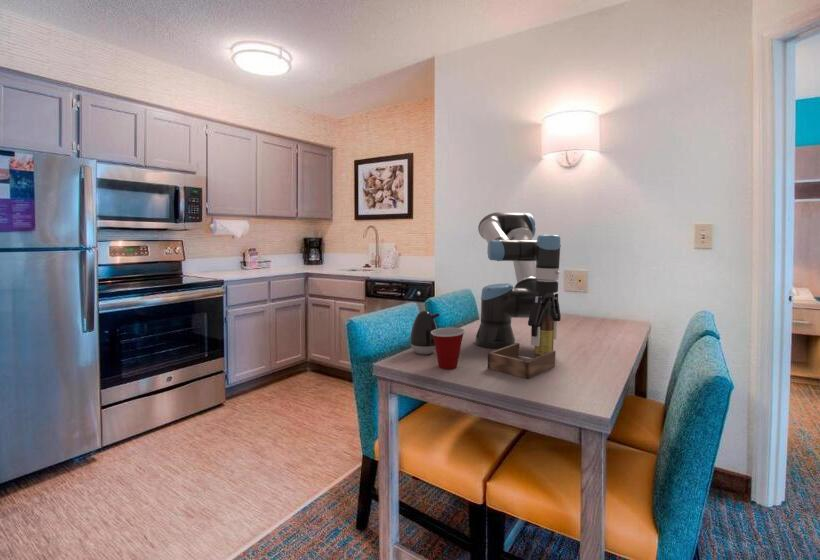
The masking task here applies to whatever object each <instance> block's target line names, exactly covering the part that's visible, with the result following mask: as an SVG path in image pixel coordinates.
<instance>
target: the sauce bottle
mask: <svg viewBox="0 0 820 560" xmlns="http://www.w3.org/2000/svg"><path fill="white" fill-rule="evenodd" d="M551 304H552V302H551V301H550V303H549V304H548V307H547V309H546V310H545V311H544V313H543V316H542V319H541V321H540V324H539V327H540V342H539V346H533V347H534V358H536V357H538V356H540V355H543V354H545V353H548V352H550V351H552V350H554V344H555V343H554V341H555V340H554V321H553V319H552V317H551V315H550V314H551Z"/></svg>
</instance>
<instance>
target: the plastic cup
mask: <svg viewBox="0 0 820 560" xmlns="http://www.w3.org/2000/svg"><path fill="white" fill-rule="evenodd" d="M465 331H466V330H465V329H464V328H461V327H453V326H451V327H439V328H437V329H435V330H433V331H431V334H432V336H433V338H434V342H435V348H436V350H435V353H436V358H437V365H438V367H439V368H440V369H443V370H454V369H456V368H457V366H458V362H459V359H460V358H459V357H460V353H461V346H462V342H463V337H464V334H465Z"/></svg>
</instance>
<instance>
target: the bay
mask: <svg viewBox="0 0 820 560" xmlns="http://www.w3.org/2000/svg"><path fill="white" fill-rule="evenodd" d="M553 367H556V350H554V349H553V350H552V351H550V352H548V353H545V354H543V355H540V356H538V357H534V358H533V357H532V358H531V357H528V356H523V355H520V343H518V342H515V344H512V345H510V346H507V347H504V348H501V349H494V350H492V351H490V352H487V368H486V369H488V370H492V371H496V372H500V373H504V374H508V375H511V376H515V377H518V378H523V379H526V380H529V379H531V378H533V377H535V376H537V375H539V374H541V373H543V372H545V371H547V370H551V368H553Z"/></svg>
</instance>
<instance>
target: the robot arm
mask: <svg viewBox="0 0 820 560" xmlns="http://www.w3.org/2000/svg"><path fill="white" fill-rule="evenodd" d="M477 229H478V233H479V235H480V237H481V238H483V240H485V241H486V243H487V253H486V254H487V258H488V259H489V260H490V261H494V262H496V261H497V262H512V263H513V268H514V275H515V280H516V284H514V286H513V284H512V283H509V282H508V283H494V284H488V285H485V286H484V287H482V289H481V294H480V295H481V296H480V302H481V303H480V324H479V327H478V329H477V332H476V335H475V341H474V342H475V344H476V346H477V345H478V346H480V347H482V348H489V349H496V350H498V349H501V348H504V347H507V346H510V345H512V344H515V343H516V338H515V333H514V331H513V328H512V318H519V319H522V318H523V319H525V318H526V319H528V321H527V325H528V326H529V327H531V331H530V333H531V334H530V346H532V347H535V346H539V342H540V327H539V324H540V321H541V319H542V316H543V313H544V311H545V310H546V309H547V307H548V304H549V303H550V301H551V302H552V304H551V314H550V315H551V317H552V319H553V321H554V341H556V340H557V339H558V322H560V321H561V317H562V316H561V310H560V304H559V293H558V291H559V282H558V280H559V275H560V274H561V273H560V258H561V256H560V255H561V246H562V245H561V237H560V236H559V235H558V234H539V235H538V236H537V238H536V239H535V240H533V238H534V237H535V234H536V231H537V230H536V221H535V218H534V216H533V215H532V214H531V213H528V212H522V211H521V212H499V211H498V212H493V213H489V214H488V215H485V216H484V217H483V218H482V219H481V220H480V222H479V224H478V228H477Z"/></svg>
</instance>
